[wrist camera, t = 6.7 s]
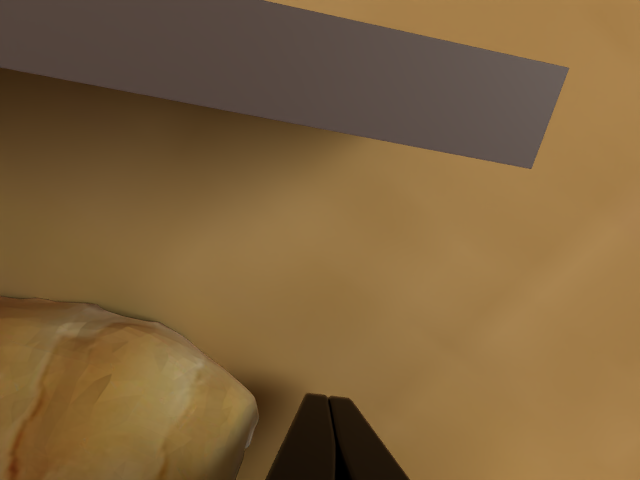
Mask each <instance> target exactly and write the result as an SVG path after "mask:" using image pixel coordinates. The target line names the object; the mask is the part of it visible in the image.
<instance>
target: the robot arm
mask: <svg viewBox="0 0 640 480" xmlns="http://www.w3.org/2000/svg"><path fill="white" fill-rule="evenodd" d="M265 480H410V479H409V478H408V476H407V475H406V474H405V472H404V471H403V470H402V468H401V467H400V466H399V464H398V463H397V462H396V460H395V459H394V457H393V456H392V455H391V453H390V452H389V451H388V449H387V448H386V447H385V445H384V444H383V442H382V441H381V440H380V438H379V437H378V436H377V434H376V433H375V432H374V430H373V429H372V427H371V426H370V425H369V423H368V422H367V421H366V419H365V418H364V417H363V415H362V414H361V412H360V411H359V410H358V408H357V407H356V406H355V404H354V403H353V402H352V400H350V399H349V398H345V397H337V396H330V397H328V398H327V396H325V395H321V394H313V393H307V394H306V395H305V396H304V398H303V400H302V403H301V405H300V407H299V409H298V411H297V413H296V415H295V417H294V420H293V422H292V424H291V426H290V428H289V430H288V432H287V434H286V437H285V439H284V441H283V443H282V445H281V447H280V449H279V451H278V454H277V456H276V458H275V460H274V462H273V464H272V466H271V469H270V471H269V473H268V475H267V477H266V479H265Z"/></svg>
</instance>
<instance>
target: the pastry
mask: <svg viewBox="0 0 640 480" xmlns="http://www.w3.org/2000/svg"><path fill="white" fill-rule="evenodd" d="M258 421H259V413H258V408H257V404H256V400H255V397H254V396H253V395H252V394H251V392H250V391H249V390H248V389H246V388H245V387H244V386H243V385H242V384H241V383H240V382H239V381H238V380H236V379H235V378H234V377H233V376H232V375H231V374H230V373H229V372H227V371H226V370H225V369H224V368H223V367H221V366H220V365H219V364H217V363H216V362H214V361H213V360H212V359H210V358H209V357H208V356H206V355H205V354H204V353H202V352H201V351H200V350H199V349H198V348H197V347H195V346H194V345H193V344H192V343H191V342H190V341H189V340H187V339H186V338H185V337H183V336H182V335H180V334H179V333H177V332H176V331H174V330H172V329H170V328H168V327H166V326H165V325H163V324H162V323H160V322H147V321H142V320H138V319H133V318H128V317H124V316H121V315H118V314H114V313H111V312H108V311H106V310H103V309H101V308H100V307H99V306H98V305H96V304H88V303H72V302H55V301H51V300H48V299H39V298H29V299H14V298H8V297H2V296H0V480H235V479H236V476H237V473H238V471H239V468H240V465H241V463H242V460H243V455H244V450H245V449H246V448H247V447H249V445H250V442H251V440H252V435H253V432H254V428H255V427H256V425H257V423H258Z"/></svg>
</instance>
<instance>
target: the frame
mask: <svg viewBox="0 0 640 480" xmlns="http://www.w3.org/2000/svg"><path fill="white" fill-rule="evenodd" d="M0 67H1V68H6V69H11V70H16V71H22V72H27V73H32V74H37V75H43V76H48V77H53V78H58V79H64V80H69V81H74V82H79V83H84V84H90V85H95V86H100V87H105V88H111V89H116V90H121V91H126V92H131V93H137V94H142V95H147V96H152V97H158V98H163V99H168V100H173V101H179V102H184V103H189V104H194V105H199V106H205V107H210V108H215V109H220V110H226V111H231V112H236V113H241V114H246V115H252V116H257V117H262V118H267V119H273V120H278V121H283V122H288V123H294V124H299V125H304V126H309V127H314V128H320V129H325V130H330V131H335V132H341V133H346V134H351V135H356V136H361V137H367V138H372V139H377V140H382V141H388V142H393V143H398V144H403V145H408V146H414V147H419V148H424V149H429V150H435V151H440V152H445V153H450V154H456V155H461V156H466V157H471V158H476V159H482V160H487V161H492V162H497V163H503V164H508V165H513V166H518V167H523V168H529V169H531V168H532V166H533V163H534V160H535V158H536V155H537V152H538V150H539V147H540V144H541V142H542V139H543V136H544V134H545V131H546V128H547V126H548V123H549V120H550V118H551V115H552V112H553V110H554V107H555V104H556V102H557V99H558V96H559V94H560V91H561V88H562V86H563V83H564V80H565V78H566V75H567V72H568V70H569V68H567V67H563V66H558V65H554V64H549V63H545V62H540V61H536V60H531V59H526V58H522V57H517V56H513V55H508V54H504V53H499V52H495V51H490V50H486V49H481V48H477V47H472V46H468V45H463V44H459V43H454V42H449V41H445V40H440V39H436V38H431V37H427V36H422V35H418V34H413V33H409V32H404V31H400V30H395V29H391V28H386V27H382V26H377V25H372V24H368V23H363V22H359V21H354V20H350V19H345V18H341V17H336V16H332V15H327V14H323V13H318V12H314V11H309V10H305V9H300V8H295V7H291V6H286V5H282V4H277V3H273V2H268V1H264V0H0Z"/></svg>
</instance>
